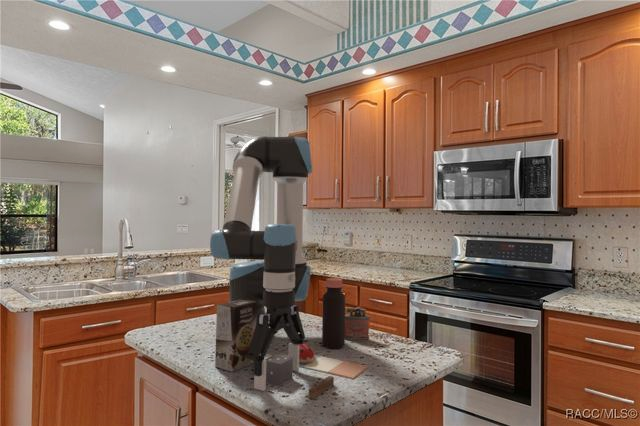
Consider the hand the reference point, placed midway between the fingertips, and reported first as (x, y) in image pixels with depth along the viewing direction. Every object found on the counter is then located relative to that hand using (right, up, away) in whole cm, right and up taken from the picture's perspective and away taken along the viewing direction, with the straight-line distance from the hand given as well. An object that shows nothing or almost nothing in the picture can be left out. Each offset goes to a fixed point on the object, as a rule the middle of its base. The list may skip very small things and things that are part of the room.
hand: (277, 379), depth 98 cm
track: (+11, 0, +10) cm, 15 cm away
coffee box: (-12, 0, +10) cm, 15 cm away
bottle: (+14, -1, +27) cm, 30 cm away
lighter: (+22, -1, +34) cm, 40 cm away
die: (0, 0, 0) cm, 0 cm away
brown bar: (+10, 0, -6) cm, 12 cm away
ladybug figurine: (+5, 0, +14) cm, 15 cm away
